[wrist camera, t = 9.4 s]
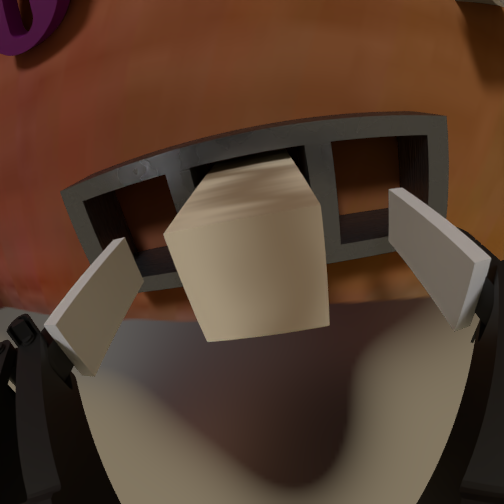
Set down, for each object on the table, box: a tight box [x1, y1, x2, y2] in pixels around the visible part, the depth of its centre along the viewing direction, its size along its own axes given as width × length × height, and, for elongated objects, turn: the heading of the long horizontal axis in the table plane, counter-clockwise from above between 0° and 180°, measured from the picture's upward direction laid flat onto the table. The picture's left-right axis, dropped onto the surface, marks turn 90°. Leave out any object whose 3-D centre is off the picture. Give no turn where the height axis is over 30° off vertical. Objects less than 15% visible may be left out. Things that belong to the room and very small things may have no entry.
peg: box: [163, 149, 330, 342], centre depth 15 cm, size 5×5×12 cm
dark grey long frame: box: [60, 111, 449, 293], centre depth 18 cm, size 26×9×4 cm, turn 102°
